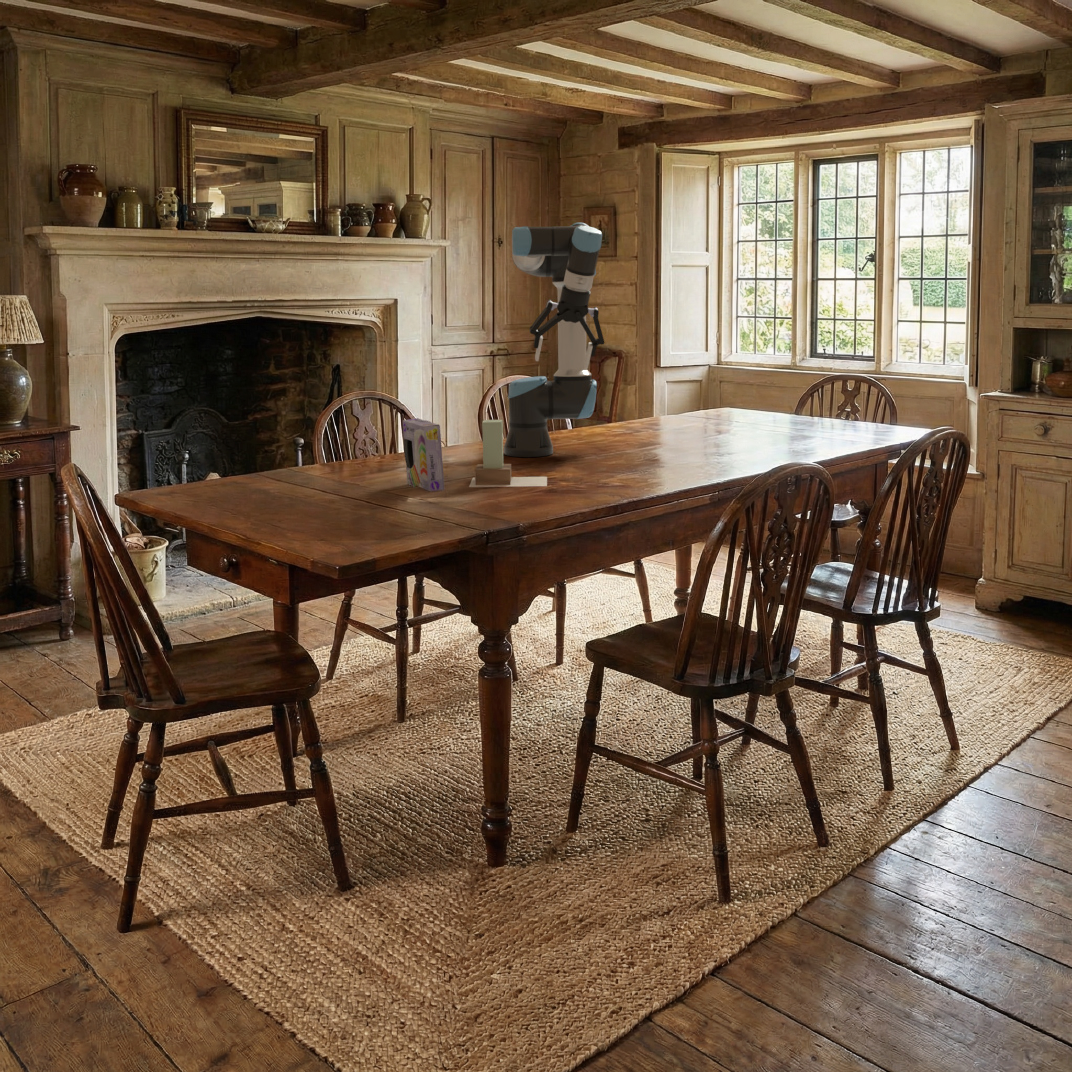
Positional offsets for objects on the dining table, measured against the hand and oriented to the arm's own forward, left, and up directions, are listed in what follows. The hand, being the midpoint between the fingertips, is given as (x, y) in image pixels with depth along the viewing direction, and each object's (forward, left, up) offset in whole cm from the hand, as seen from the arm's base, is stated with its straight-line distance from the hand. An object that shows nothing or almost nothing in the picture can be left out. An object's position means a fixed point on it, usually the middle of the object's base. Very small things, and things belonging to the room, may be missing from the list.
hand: (561, 363), depth 314 cm
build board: (+16, -14, -30) cm, 37 cm away
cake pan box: (+19, -36, -31) cm, 51 cm away
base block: (+16, -18, -29) cm, 38 cm away
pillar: (+16, -18, -25) cm, 35 cm away
